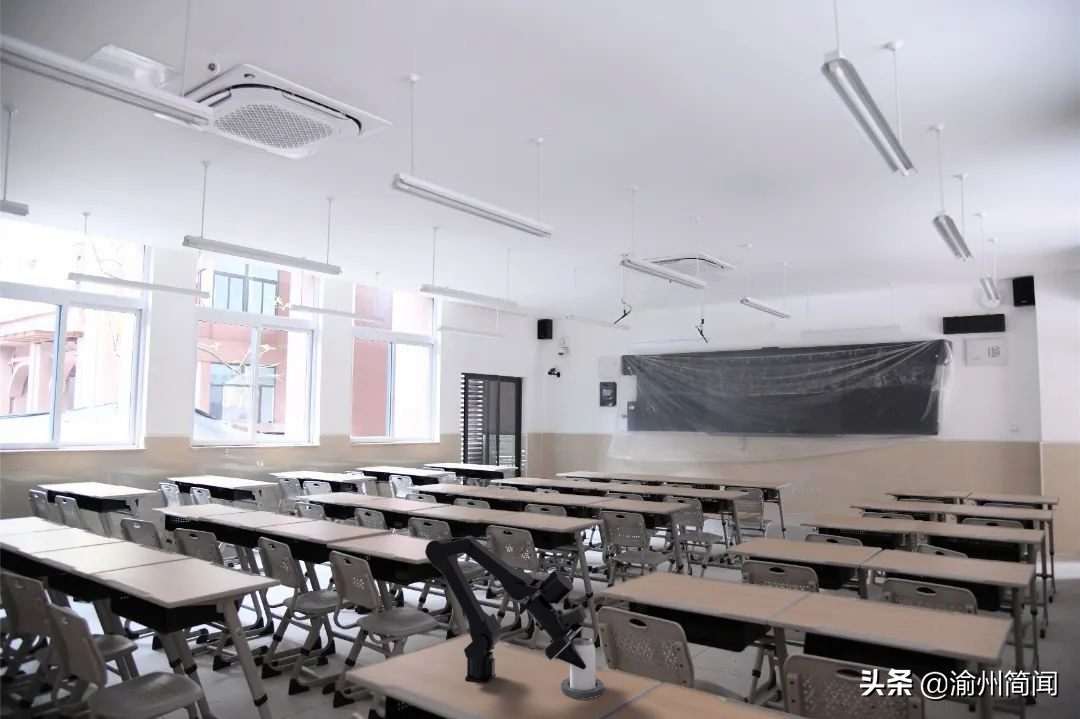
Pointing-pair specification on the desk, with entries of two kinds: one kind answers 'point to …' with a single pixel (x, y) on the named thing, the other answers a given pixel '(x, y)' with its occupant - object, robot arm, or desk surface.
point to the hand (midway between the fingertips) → (588, 663)
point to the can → (587, 652)
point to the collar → (582, 693)
